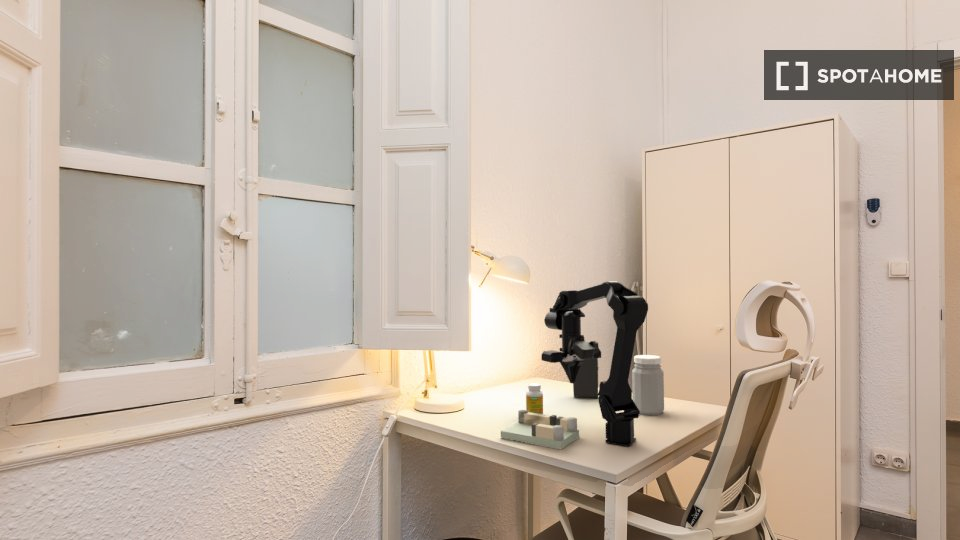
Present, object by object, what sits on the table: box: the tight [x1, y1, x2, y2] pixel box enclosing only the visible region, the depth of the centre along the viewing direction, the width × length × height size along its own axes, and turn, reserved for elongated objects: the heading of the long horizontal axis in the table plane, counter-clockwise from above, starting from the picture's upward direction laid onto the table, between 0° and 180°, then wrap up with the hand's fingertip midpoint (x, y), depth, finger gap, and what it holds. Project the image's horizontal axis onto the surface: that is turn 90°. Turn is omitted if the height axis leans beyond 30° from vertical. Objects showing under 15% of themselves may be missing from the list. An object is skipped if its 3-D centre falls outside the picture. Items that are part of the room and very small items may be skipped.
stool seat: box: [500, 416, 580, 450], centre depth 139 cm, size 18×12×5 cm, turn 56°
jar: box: [631, 354, 665, 416], centre depth 164 cm, size 10×10×18 cm
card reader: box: [572, 358, 599, 399], centre depth 185 cm, size 9×4×15 cm, turn 82°
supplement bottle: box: [525, 383, 544, 414], centre depth 162 cm, size 5×5×10 cm
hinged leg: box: [517, 409, 558, 426], centre depth 144 cm, size 12×3×3 cm, turn 56°
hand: (572, 383), depth 153 cm, fingers closed
